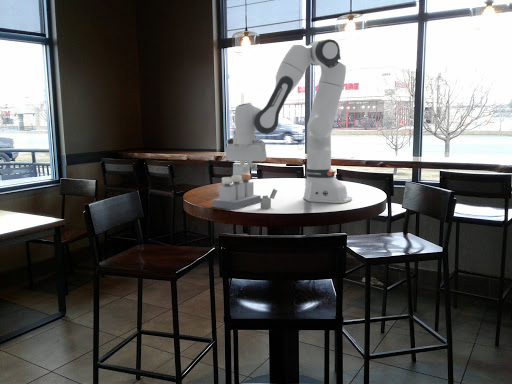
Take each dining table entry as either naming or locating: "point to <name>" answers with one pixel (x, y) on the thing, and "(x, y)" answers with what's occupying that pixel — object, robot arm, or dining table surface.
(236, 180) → the knob mid
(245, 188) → the mount plate
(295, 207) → the dining table surface
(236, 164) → the skincare box
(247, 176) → the knob
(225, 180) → the knob
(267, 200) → the lighter
